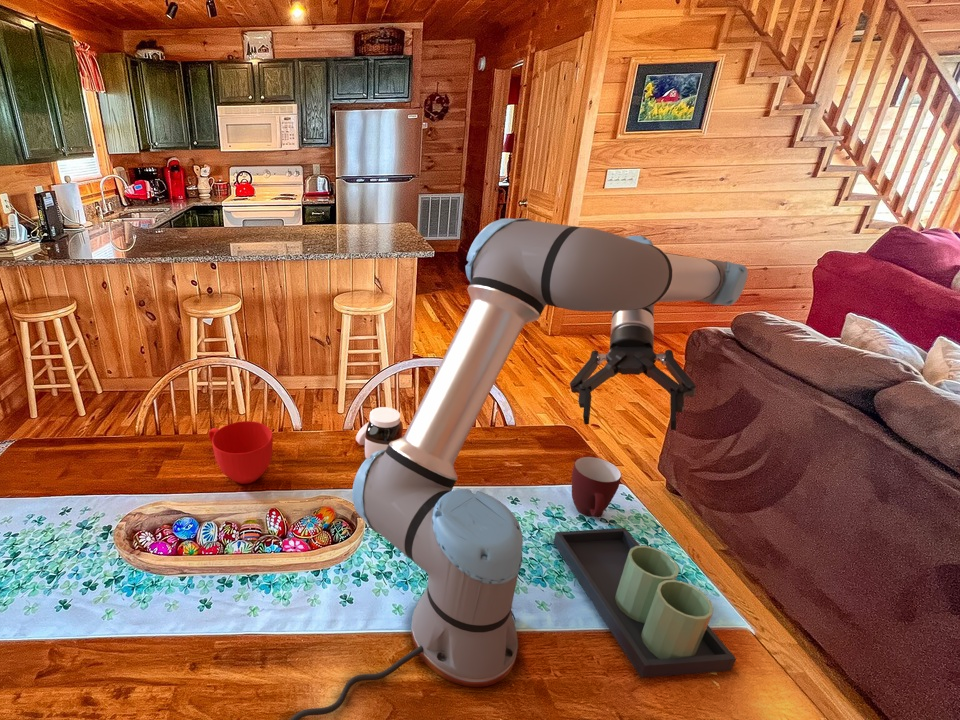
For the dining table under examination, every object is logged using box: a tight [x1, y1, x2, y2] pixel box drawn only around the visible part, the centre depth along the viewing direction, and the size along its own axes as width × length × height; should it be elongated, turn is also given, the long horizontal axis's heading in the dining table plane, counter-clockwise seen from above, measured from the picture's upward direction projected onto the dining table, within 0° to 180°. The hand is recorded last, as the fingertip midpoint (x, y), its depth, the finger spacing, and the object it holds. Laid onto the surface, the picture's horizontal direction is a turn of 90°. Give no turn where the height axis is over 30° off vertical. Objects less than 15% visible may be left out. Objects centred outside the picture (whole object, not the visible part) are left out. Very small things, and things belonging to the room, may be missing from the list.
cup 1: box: [615, 545, 680, 623], centre depth 78 cm, size 6×6×10 cm
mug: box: [571, 456, 622, 519], centre depth 98 cm, size 10×8×10 cm
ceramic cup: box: [208, 420, 274, 485], centre depth 112 cm, size 13×17×10 cm
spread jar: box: [355, 406, 404, 460], centre depth 117 cm, size 12×11×12 cm
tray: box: [553, 527, 737, 679], centre depth 81 cm, size 13×25×3 cm, turn 3°
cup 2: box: [641, 579, 714, 659], centre depth 72 cm, size 6×6×10 cm
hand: (627, 423), depth 92 cm, fingers open, 13 cm apart
